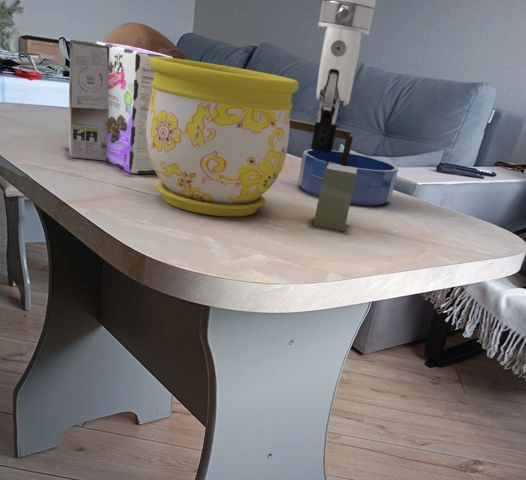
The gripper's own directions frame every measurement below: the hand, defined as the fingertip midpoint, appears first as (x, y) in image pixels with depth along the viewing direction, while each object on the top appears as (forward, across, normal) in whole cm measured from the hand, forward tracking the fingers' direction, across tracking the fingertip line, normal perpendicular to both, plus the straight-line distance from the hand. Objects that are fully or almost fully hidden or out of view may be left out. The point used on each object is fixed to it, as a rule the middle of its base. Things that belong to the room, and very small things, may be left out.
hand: (321, 149), depth 97 cm
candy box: (+7, -7, +29) cm, 31 cm away
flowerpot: (+7, -22, +12) cm, 26 cm away
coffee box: (+7, -5, +36) cm, 37 cm away
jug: (+7, +15, +31) cm, 35 cm away
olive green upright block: (+6, -21, -4) cm, 22 cm away
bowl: (+6, +1, -5) cm, 8 cm away
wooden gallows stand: (+5, 0, +1) cm, 5 cm away
